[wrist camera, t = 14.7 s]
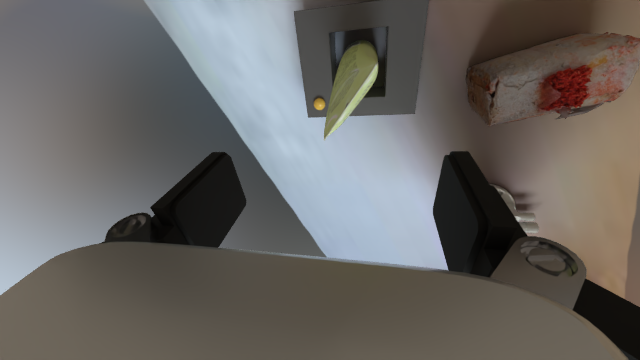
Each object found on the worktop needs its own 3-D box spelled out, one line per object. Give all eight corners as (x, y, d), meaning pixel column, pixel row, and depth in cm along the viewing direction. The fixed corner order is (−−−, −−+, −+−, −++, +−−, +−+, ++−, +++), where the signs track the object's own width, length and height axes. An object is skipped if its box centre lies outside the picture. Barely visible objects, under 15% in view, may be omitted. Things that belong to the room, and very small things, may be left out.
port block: (422, -5, 29) (430, -7, 25) (410, 102, 37) (415, 114, 32) (303, 10, 32) (292, 11, 28) (314, 106, 40) (307, 118, 36)
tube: (378, 79, 36) (381, 136, 20) (345, 84, 37) (322, 141, 21) (377, 35, 33) (378, 63, 17) (340, 42, 34) (309, 74, 18)
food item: (596, 19, 28) (683, 25, 20) (583, 87, 32) (651, 114, 24) (464, 61, 33) (492, 79, 25) (466, 116, 37) (491, 146, 29)
